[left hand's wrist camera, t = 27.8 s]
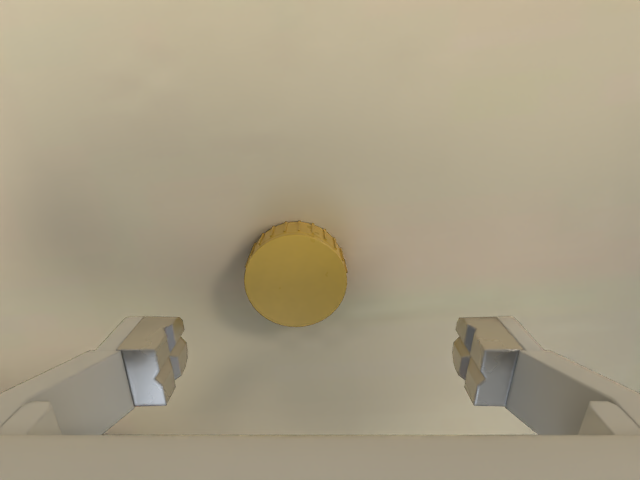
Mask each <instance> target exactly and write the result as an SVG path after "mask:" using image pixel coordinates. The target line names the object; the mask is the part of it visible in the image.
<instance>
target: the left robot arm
mask: <svg viewBox="0 0 640 480" xmlns="http://www.w3.org/2000/svg"><path fill="white" fill-rule="evenodd" d="M183 331H184V325H183V320H182V319H181V318H180V317H148V316H147V317H145V316H130V317H126V318H125V319H124V320H123V321H122V322H121V323H120V324H119V325H118V326H117V327H116V328H115V329H114V331H113V332H112V333H111V334H110V335H109V336H108V337H107V338H106V339H105V340H104V341H103V343H102V344H101V345H100V346H99V347H98V348H97V349H96V350H94V351H88V352H85V353H83V354H81V355H79V356H77V357H75V358H73V359H71V360H69V361H67V362H65V363H63V364H60V365H58V366H56V367H54V368H52V369H50V370H48V371H46V372H44V373H42V374H40V375H38V376H35V377H33V378H31V379H29V380H27V381H25V382H23V383H21V384H19V385H17V386H15V387H13V388H10V389H8V390H6V391H4V392H2V393H0V480H640V393H638V392H636V391H633V390H631V389H629V388H627V387H625V386H623V385H621V384H619V383H617V382H615V381H613V380H611V379H609V378H606V377H604V376H602V375H600V374H598V373H596V372H594V371H592V370H590V369H588V368H586V367H584V366H582V365H579V364H577V363H575V362H573V361H571V360H569V359H567V358H565V357H563V356H561V355H559V354H557V353H555V352H552V351H546V350H544V349H543V348H542V347H541V346H540V345H539V344H538V343H537V341H536V340H535V339H534V338H533V337H532V336H531V335H530V334H529V333H528V332H527V331H526V329H525V328H524V327H523V326H522V325H521V324H520V323H519V322H518V321H517V320H516V319H515V318H514V317H512V316H500V317H468V318H459V319H458V321H457V325H456V331H457V333H458V335H459V337H458V338H457V340H456V341H455V342H454V343H453V351H452V354H453V363H454V366H455V369H456V371H457V373H458V375H459V376H460V377H462V378H463V379H465V386H464V387H465V389H466V391H467V393H468V395H469V397H470V399H471V401H472V403H473V405H474V406H506V409H508V410H509V411H510V412H511V413H512V414H514V415H515V416H516V417H517V418H519V419H520V420H521V421H522V422H523V423H525V424H526V425H527V426H528V427H530V428H531V429H532V430H533V431H534V432H536V433H537V434H538V435H102V434H103V433H105V432H106V431H107V430H108V429H109V428H111V427H112V426H113V425H114V424H115V423H117V422H118V421H119V420H120V419H122V418H123V417H124V416H125V415H126V414H128V413H129V412H130V411H131V410H133V409H134V406H165V405H167V403H168V401H169V399H170V397H171V395H172V393H173V391H174V389H175V387H176V386H175V379H177V378H178V377H180V376H181V375H182V373H183V371H184V369H185V367H186V362H187V353H188V349H187V343H186V342H185V341H184V340H183V338H182V337H181V335H182V333H183Z"/></svg>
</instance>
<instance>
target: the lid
mask: <svg viewBox="0 0 640 480" xmlns="http://www.w3.org/2000/svg"><path fill="white" fill-rule="evenodd" d="M245 267H246V270H245V276H244V285H245V290H246V294H247V296H248V299H249V301H250V302H251V304H252V305H253V307H254V308H255V309H256V310H257V311H258V312H259V313H260V314H261V315H262V316H264V317H265V318H266V319H268V320H270V321H272V322H274V323H277V324H280V325H283V326H289V327H303V326H308V325H312V324H315V323H318V322H320V321H322V320H324V319H325V318H327V317H328V316H329V315H331V314H332V313H333V312H334V311H335V310H336V309H337V307H338V306H339V305H340V303H341V301H342V300H343V297H344V295H345V291H346V286H347V276H346V273H347V268H346V264H345V259H344V257H343V253H342V249H341V248H339V246H338V244H337V243H336V240H335V238H332V236H331V235H330V234H328V233H327V232H326V229H324V230H323V229H321V228H320V227H317V226H315V225H314V223H312V224H309V223H304V222H301V221H298V222H289V223H287V221H286V222H285V223H284V224H281V225H278V226H276V227H275V226H272V229H270V230H269V231H267V232H266V233H265V234H264V233H262V235H261V238H260V239H259V240H258V242H257V243H254V245H253V248H252V250H251V253H250V255H249V258H248V260H247V263H246V265H245Z"/></svg>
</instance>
